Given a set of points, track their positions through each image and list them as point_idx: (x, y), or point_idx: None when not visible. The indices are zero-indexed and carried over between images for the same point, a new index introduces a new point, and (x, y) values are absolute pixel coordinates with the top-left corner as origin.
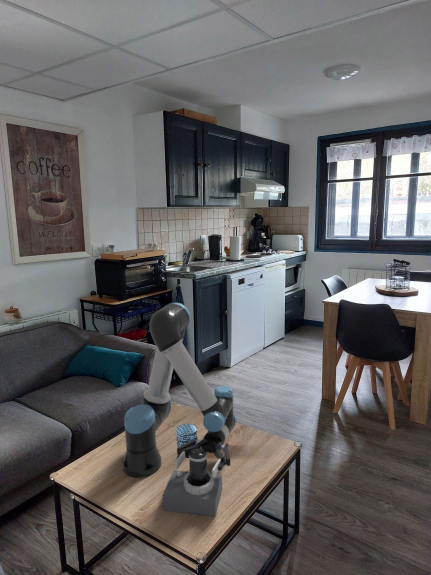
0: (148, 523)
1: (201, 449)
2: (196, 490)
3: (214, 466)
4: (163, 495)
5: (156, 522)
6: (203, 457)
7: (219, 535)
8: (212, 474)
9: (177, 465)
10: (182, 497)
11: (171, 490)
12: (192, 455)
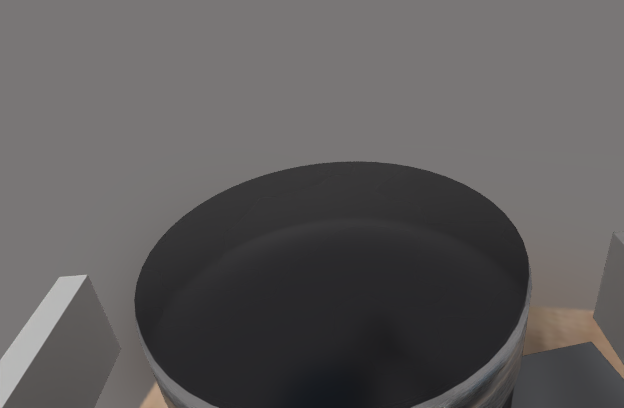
0: (557, 329)
1: (303, 384)
2: None
3: (46, 331)
4: (582, 347)
5: (524, 348)
6: (187, 217)
7: (156, 394)
8: (105, 321)
9: (608, 285)
10: None
11: (568, 399)
12: (394, 187)
